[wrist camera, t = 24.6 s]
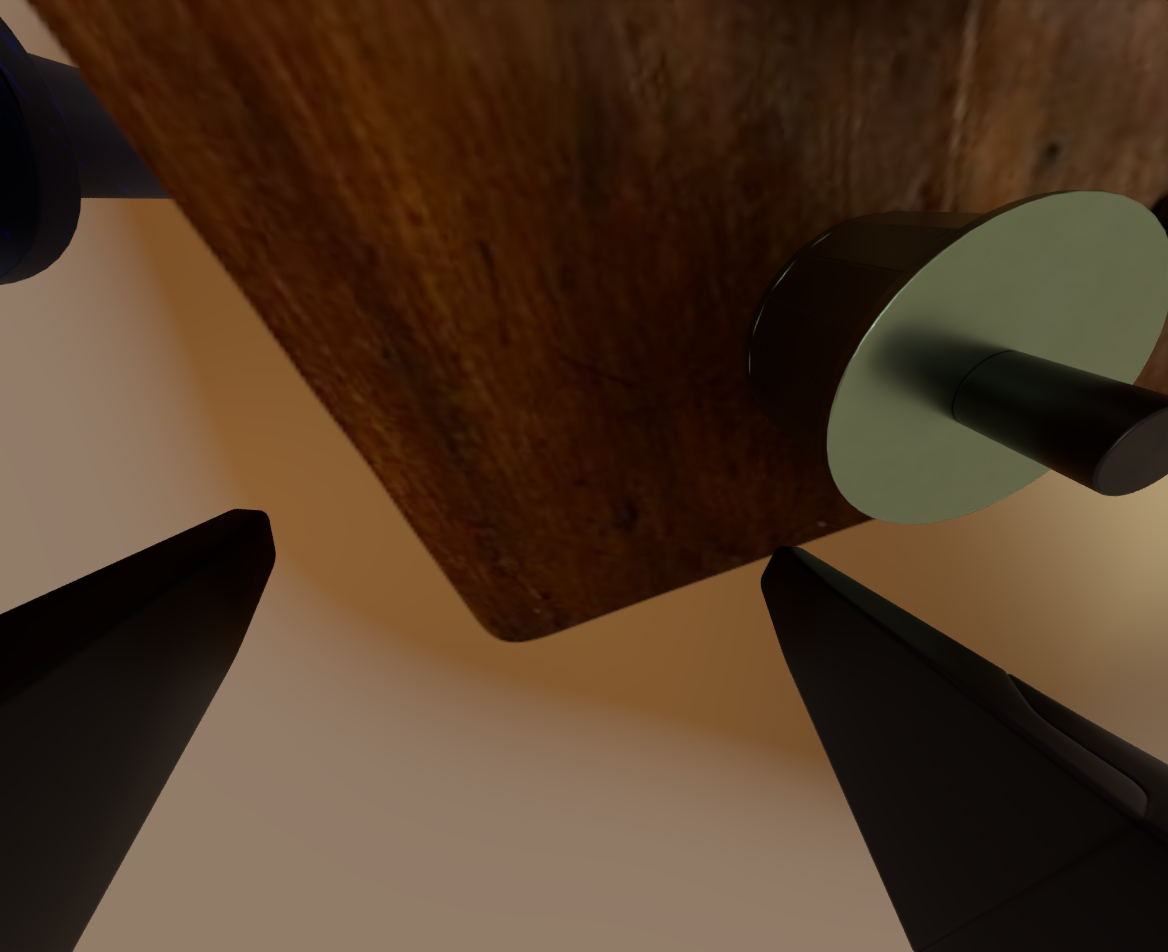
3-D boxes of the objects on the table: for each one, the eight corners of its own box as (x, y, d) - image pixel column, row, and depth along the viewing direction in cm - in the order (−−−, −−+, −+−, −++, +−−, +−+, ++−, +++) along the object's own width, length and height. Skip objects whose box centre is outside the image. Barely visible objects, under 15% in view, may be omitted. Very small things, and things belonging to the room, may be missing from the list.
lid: (759, 495, 16) (851, 604, 12) (921, 146, 11) (1190, 110, 7) (984, 517, 18) (1132, 616, 14) (1206, 235, 13) (1550, 251, 9)
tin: (714, 418, 21) (787, 497, 15) (799, 188, 16) (945, 181, 11) (879, 441, 23) (996, 517, 17) (996, 240, 18) (1205, 257, 13)
